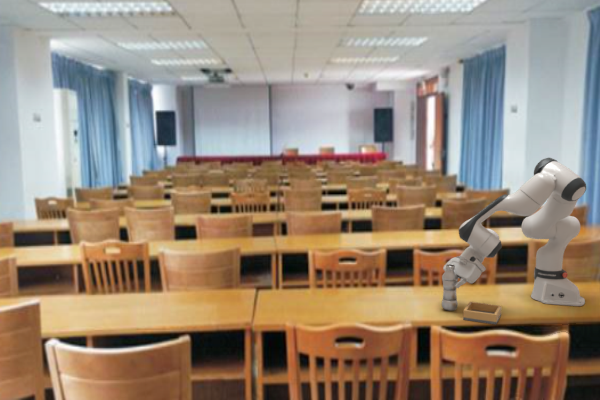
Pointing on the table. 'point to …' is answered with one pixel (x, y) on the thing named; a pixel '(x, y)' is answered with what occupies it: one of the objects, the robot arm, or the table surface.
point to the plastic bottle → (449, 288)
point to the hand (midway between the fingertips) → (449, 284)
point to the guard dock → (482, 312)
